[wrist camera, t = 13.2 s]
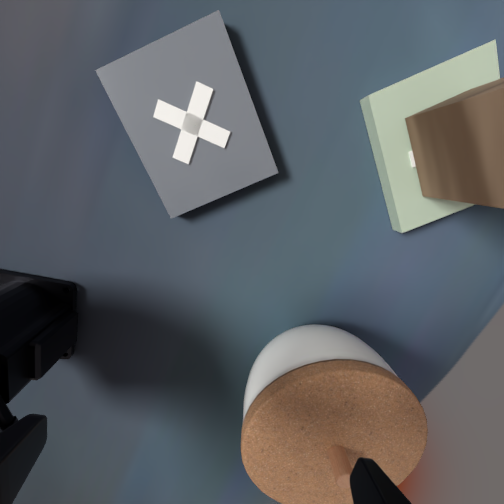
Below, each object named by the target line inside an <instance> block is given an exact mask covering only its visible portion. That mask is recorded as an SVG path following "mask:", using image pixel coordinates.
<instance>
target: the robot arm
mask: <svg viewBox="0 0 504 504" xmlns="http://www.w3.org/2000/svg"><path fill="white" fill-rule="evenodd" d="M66 287H67V288H68V289H69V290H70V291H67V289H66ZM76 294H77V289H76V286H75V285H74V284H73V283H71V282H66V281H61V280H55V279H49V278H44V277H38V276H33V275H27V274H21V273H16V272H10V271H5V270H0V504H12V503H13V501H14V499H15V498H16V496H17V494H18V492H19V490H20V489H21V487H22V485H23V483H24V482H25V480H26V478H27V476H28V474H29V473H30V471H31V469H32V467H33V466H34V464H35V462H36V460H37V458H38V457H39V455H40V453H41V451H42V449H43V448H44V445H45V443H46V440H47V417H46V416H45V415H38V414H29V415H27V416H25V417H23V418H22V419H20V420H19V421H18V419H17V417H16V416H13V415H12V413H11V412H10V410H9V408H8V407H7V405H6V404H7V403H9V402H10V401H11V400H12V399H13V398H14V397H15V396H16V395H17V394H18V393H19V392H20V391H21V390H22V389H23V388H24V387H25V386H26V385H27V384H28V383H29V382H30V381H31V380H38V379H40V378H41V377H42V376H43V375H44V374H45V373H46V372H47V371H48V370H49V369H50V368H51V367H52V366H53V365H54V364H55V363H56V362H57V361H58V360H59V359H69V358H70V357H71V356H72V355H73V354H74V347H75V342H76V341H77V322H78V313H77V311H76ZM66 352H67V353H66ZM350 488H351V493H352V499H353V504H411V503H410V501H409V500H408V499H407V498H406V497H405V496H404V494H402V492H401V491H400V490H399V489H398V487H397V486H396V485H395V484H394V483H393V482H392V480H391V479H390V478H389V477H388V476H387V475H386V473H385V472H384V471H383V470H382V469H381V468H380V467H379V465H378V464H377V463H376V462H375V461H374V460H373V459H371V458H364V457H359V458H358V459H357V461H356V463H355V465H354V468H353V470H352V472H351V474H350Z"/></svg>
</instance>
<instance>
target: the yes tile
mask: <svg viewBox="0 0 504 504" xmlns="http://www.w3.org/2000/svg"><path fill="white" fill-rule="evenodd" d="M498 79H500V75H499V66H498V57H497V48H496V40H493V41H491V42H489V43H487V44H484V45H482V46H480V47H477V48H475V49H473V50H471V51H468V52H466V53H464V54H462V55H459V56H457V57H455V58H452V59H450V60H448V61H446V62H443V63H441V64H439V65H436V66H434V67H432V68H430V69H427V70H425V71H423V72H421V73H418V74H416V75H414V76H411V77H409V78H407V79H405V80H402V81H400V82H398V83H396V84H393V85H391V86H389V87H386V88H384V89H382V90H380V91H377V92H375V93H373V94H371V95H368V96H367V97H365V98H363V99H361V100H360V103H361V107H362V111H363V115H364V119H365V123H366V127H367V131H368V135H369V139H370V143H371V146H372V150H373V154H374V158H375V162H376V166H377V170H378V174H379V178H380V182H381V185H382V189H383V193H384V197H385V201H386V205H387V209H388V213H389V217H390V221H391V225H392V228H393V230H395V231H398V232H400V233H404V232H407V231H409V230H412V229H414V228H417V227H419V226H422V225H424V224H427V223H429V222H432V221H435V220H437V219H440V218H442V217H445V216H447V215H450V214H452V213H455V212H458V211H460V210H463V209H465V208H468V207H470V206H473V205H475V204H470V203H464V202H457V201H451V200H444V199H438V198H431V197H424V196H423V195H422V191H421V187H420V182H419V178H418V174H417V169H416V165H415V160H414V156H413V152H412V147H411V143H410V139H409V134H408V130H407V126H406V121H405V118H407V117H409V116H411V115H413V114H416V113H418V112H420V111H422V110H425V109H427V108H429V107H431V106H434V105H436V104H438V103H440V102H443V101H445V100H447V99H449V98H452V97H454V96H456V95H458V94H461V93H463V92H465V91H467V90H470V89H472V88H475V87H478V86H481V85H484V84H487V83H490V82H492V81H495V80H498Z"/></svg>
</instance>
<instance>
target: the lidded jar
mask: <svg viewBox="0 0 504 504" xmlns="http://www.w3.org/2000/svg"><path fill="white" fill-rule="evenodd" d="M427 431H428V430H427V419H426V416H425V413H424V410H423V408H422V406H421V404H420V403H419V401H418V399H417V398H416V396H415V395H414V394H413V392H412V391H411V390H410V389H409V388H408V387H407V386H406V384H405V383H404V382H403V381H402V380H401V379H400V378H399V377H398V376H397V375H396V374H395V372H394V371H393V370H392V369H391V367H390V366H389V365H388V364H387V363H386V362H385V361H384V360H383V358H382V357H381V356H380V355H379V354H378V353H377V352H376V351H375V350H374V349H372V348H371V347H370V346H369V345H367V344H366V343H365V342H363V341H362V340H361V339H359V338H358V337H357V336H355V335H353V334H351V333H349V332H347V331H345V330H342V329H339V328H336V327H333V326H327V325H319V324H310V325H302V326H298V327H294V328H292V329H289V330H287V331H285V332H283V333H281V334H279V335H278V336H276V337H275V338H274V339H273V340H271V341H270V342H269V343H268V344H267V345H266V346H265V347H264V348H263V349H262V351H261V352H260V354H259V355H258V357H257V358H256V360H255V362H254V364H253V366H252V369H251V371H250V374H249V378H248V381H247V385H246V390H245V396H244V408H243V425H242V432H241V455H242V461H243V464H244V467H245V469H246V472H247V473H248V475H249V477H250V478H251V480H252V481H253V482H254V484H255V485H256V486H257V487H258V488H259V489H260V490H261V491H262V492H264V493H265V494H266V495H268V496H269V497H271V498H273V499H274V500H276V501H278V502H280V503H282V504H353V499H352V493H351V488H350V474H351V472H352V470H353V468H354V465H355V463H356V461H357V459H358V458H359V457H364V458H371V459H373V460H374V461H375V462H376V463H377V464H378V465H379V467H380V468H381V469H382V470H383V471H384V472H385V473H386V475H387V476H388V477H389V478H390V479H391V480H392V482H393V483H394V484H395V485H396V486H397V485H399V484H400V483H401V482H402V481H403V480H404V479H405V478H406V477H407V476H408V475H409V474H410V473H411V472H412V471H413V469H414V468H415V467H416V465H417V464H418V462H419V460H420V458H421V456H422V454H423V452H424V449H425V446H426V442H427Z"/></svg>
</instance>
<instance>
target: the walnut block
mask: <svg viewBox="0 0 504 504" xmlns="http://www.w3.org/2000/svg"><path fill="white" fill-rule="evenodd" d="M405 121H406V126H407V130H408V134H409V139H410V143H411V147H412V152H413V156H414V160H415V165H416V169H417V174H418V178H419V182H420V187H421V191H422V195H423V196H424V197H431V198H438V199H444V200H451V201H457V202H464V203H470V204H477V205H483V206H490V207H496V208H503V209H504V78H501V79H498V80H495V81H492V82H490V83H487V84H484V85H481V86H478V87H475V88H472V89H470V90H467V91H465V92H463V93H461V94H458V95H456V96H454V97H452V98H449V99H447V100H445V101H443V102H440V103H438V104H436V105H434V106H431V107H429V108H427V109H425V110H422V111H420V112H418V113H416V114H413V115H411V116H409V117H407V118H405Z"/></svg>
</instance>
